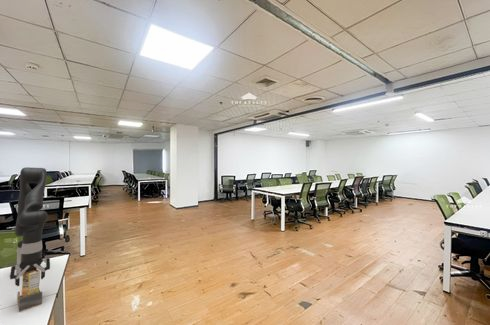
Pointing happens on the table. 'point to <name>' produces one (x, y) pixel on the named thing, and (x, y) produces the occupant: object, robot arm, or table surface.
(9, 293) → the table surface
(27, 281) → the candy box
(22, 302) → the cradle
